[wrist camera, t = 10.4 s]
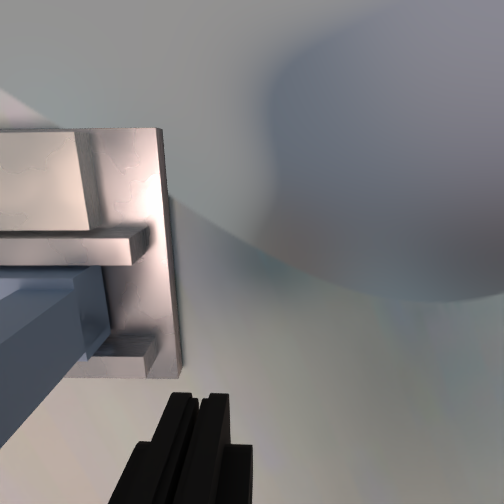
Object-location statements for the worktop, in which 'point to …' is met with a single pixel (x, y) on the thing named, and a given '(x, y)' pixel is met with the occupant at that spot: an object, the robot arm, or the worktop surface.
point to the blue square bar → (45, 332)
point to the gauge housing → (99, 233)
